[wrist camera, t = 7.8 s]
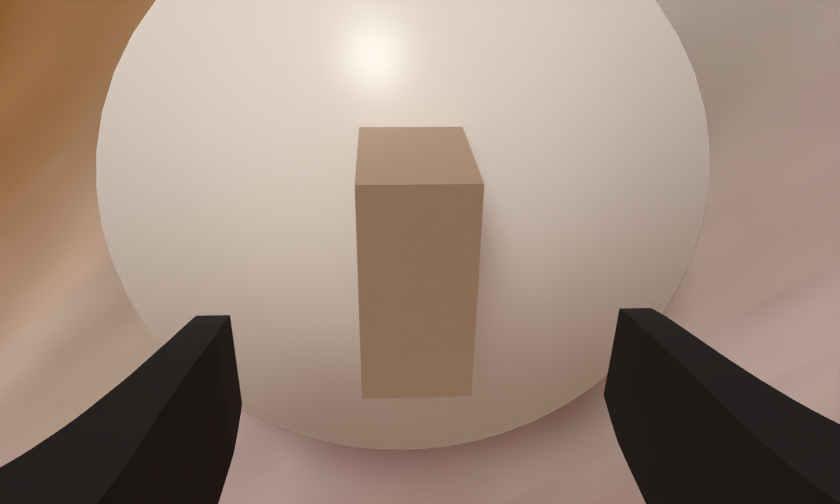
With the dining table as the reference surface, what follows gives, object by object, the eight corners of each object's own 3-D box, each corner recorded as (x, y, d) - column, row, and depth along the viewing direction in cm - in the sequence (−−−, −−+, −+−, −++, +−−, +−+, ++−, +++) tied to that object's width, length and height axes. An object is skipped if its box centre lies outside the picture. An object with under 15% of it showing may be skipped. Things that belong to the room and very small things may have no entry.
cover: (764, -113, 14) (901, -118, 11) (645, 429, 21) (703, 541, 17) (36, -125, 13) (-96, -135, 10) (160, 443, 20) (111, 564, 17)
